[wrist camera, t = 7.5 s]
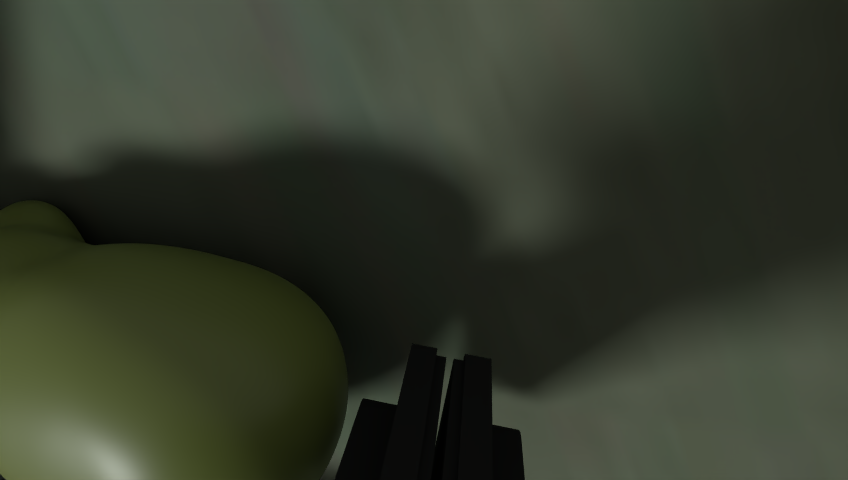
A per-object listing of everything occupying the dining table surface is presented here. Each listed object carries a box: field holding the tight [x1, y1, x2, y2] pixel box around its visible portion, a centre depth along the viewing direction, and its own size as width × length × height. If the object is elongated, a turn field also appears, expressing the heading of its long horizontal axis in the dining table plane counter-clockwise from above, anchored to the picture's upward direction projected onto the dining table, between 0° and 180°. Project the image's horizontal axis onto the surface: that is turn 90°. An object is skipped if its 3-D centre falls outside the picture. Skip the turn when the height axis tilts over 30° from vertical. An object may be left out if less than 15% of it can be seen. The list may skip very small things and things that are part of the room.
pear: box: [0, 200, 348, 480], centre depth 12 cm, size 6×5×10 cm
